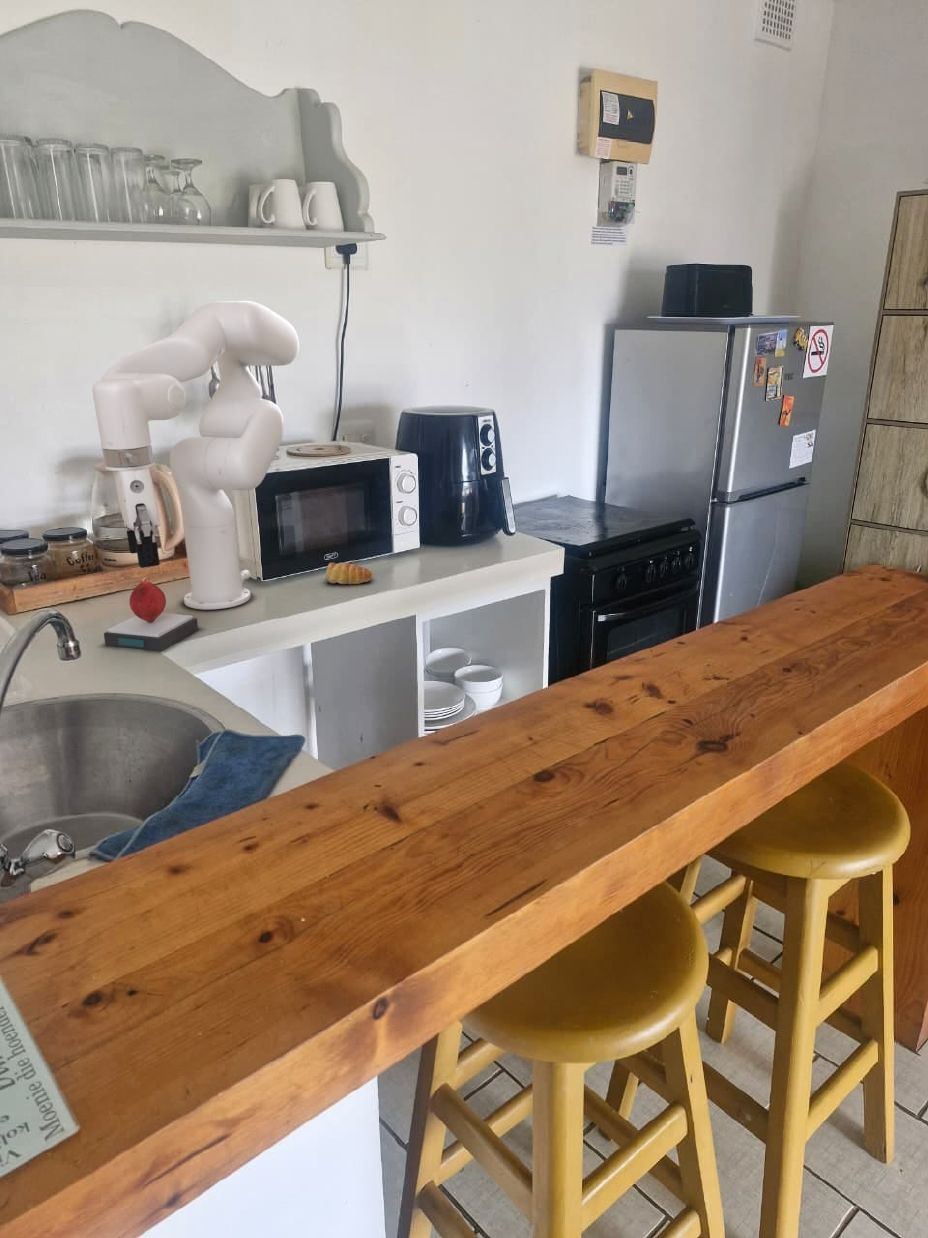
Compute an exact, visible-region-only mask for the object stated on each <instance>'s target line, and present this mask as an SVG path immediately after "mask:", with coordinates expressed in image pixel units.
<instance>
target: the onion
mask: <svg viewBox="0 0 928 1238" xmlns="http://www.w3.org/2000/svg"><path fill="white" fill-rule="evenodd" d="M166 605H167V597H166V595H165V593H164V591H163V590H162V589H161V588H160V587H159V586H157V585H156V584H154V583H152V582H151V578H150V577H147V576H145V577H143V578H142V580H141V582H140V583H139V584H138V585H136V586H135V587H134V589H133V590H132V592H131V594H130V596H129V607H130V610H131V611H132V613H133V614H134V616H137V617H139V618H140V619H142V620H145V621H147V622H153V621H155V619H156V618H157V617H158V616H159V615H160V614H161V613H164V610H165V608H166Z"/></svg>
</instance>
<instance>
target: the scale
mask: <svg viewBox="0 0 928 1238" xmlns="http://www.w3.org/2000/svg"><path fill="white" fill-rule="evenodd" d="M197 631H199V624H198V618H197V617H193V615H190V614H188V615H187V614H178V613H167V612H162V613H161V614H160V615H159V616H158V617H157V618H156V619H155V621H153V622H147V621H145V620H142V619H140V618H139V617H137V616H136V615H134V616H132V617H129V618H127V619H125V620H123V621H122V622H120V623H117V624H116V625H113V626H111V627H109V628H107V631H105V632H103V638H104V644H105V646H106V647H107V646H108V647H118V648H128V649H136V650H146V651H156V652H162V651H164V650H166V649H168V648H169V647H171V646H174V645H175V644H177V643H178V642H180V641H181V640H183V639H185V638H187V637H188V636H190V635H192V634H194V633H196V632H197Z"/></svg>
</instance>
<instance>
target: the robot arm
mask: <svg viewBox="0 0 928 1238" xmlns="http://www.w3.org/2000/svg"><path fill="white" fill-rule="evenodd" d="M299 351H300V341H299V336H298V334H297V331H296V329H295V328H294V326H293V325H292V324H291V323H290V322H289V321H288V320H287V319H285V318H284V317H283V316H281V315H279V314H277V312H274V311H273V310H271V309H270V308H268V307H267V306H265V305H263V304H261V303H258V302H255V301H251V300H223V301H222V300H218V301H216V300H215V301H209V302H205V303H203V304H202V305H199V307H197V309H195V310H194V312H192V313H191V314H190V315H189V316H188V317H187V318H186V319H185V320H184V321H183V322H182V323H181V324H180V325H179V326H178V327H177V328H176V329H175V330H174V331H173V332H172V333H171V334H170V335H168V336H166V337H163V338H161V339H158V340H155V341H153V342H151V343H150V344H147V345H145V346H143V347H141V348H138V349H136V350H134V351H131V352H129V353H127V354H126V355H124V356H122V357H121V358H120V359H119V360H117V361H116V362H115V363H114V364H113V365H112V366H111V367H110V368H109V369H108V370H107V371H106V372H105V373H104V374H103V376H102V377H101V379H100V380H98V381H96V382H95V383H94V384H93V386H92V398H93V402H94V408H95V414H96V421H97V426H98V427H97V428H98V432H99V433H98V434H99V436H100V437H99V439H100V444H101V450H102V456H103V462H104V468H105V470H106V471H111V472H113V477H114V483H115V488H116V494H117V499H118V504H119V509H120V513H121V517H122V521H123V522H124V524H125V525H126V537H127V543H128V549H129V553H130V554H131V555H133V554H136V556H137V561H138V562H137V563H138V566H139V567H140V568H141V569H144V568H150V567H156V566H160V564H161V563H160V557H159V549H158V543H157V540H156V535H155V532H154V528H153V526H154V527H155V528H157V529H158V528H159V527H160V526H161V519H160V516H159V515H160V514H159V509H158V504H157V497H156V494H155V489H154V484H153V477H152V476H151V471H150V468H151V467H154V466H155V462H154V454H153V447H152V440H151V434H150V433H151V432H150V426H149V422H150V421H167V420H171V419H174V418H177V416H179V415H180V414H181V413H183V411H184V408H185V406H186V404H187V393H186V390H185V387H184V386H183V383H185V382H188V381H191V380H194V379H197V378H198V379H199V378H200V377H202V376H204V375H206V374H207V373H208V372H209V371H210V369H212V367H214V365H215V364H216V362H217V368H218V372H219V383H218V385H217V387H216V390H215V391H214V392H213V395H212V396H211V398H210V400H209V402H208V403H207V406H206V407H205V409H204V411H203V413H202V415H201V417H200V420H199V424H198V432H199V435H200V436H191V437H186V438H183V439H181V440H179V441H178V442H176V443H175V444H174V445H173V447H172V448H171V451H170V453H169V454H170V455H169V466H170V467H169V468H170V471H171V474H172V478H173V480H174V481H173V482H174V484H175V487H176V491H177V494H178V498H179V503H180V510H181V517H182V524H183V533H184V534H183V535H184V542H185V550H186V551H185V552H186V558H187V559H186V560H187V566H188V575H189V582H190V590H191V591H189V592H188V593H187V594H185V595H184V596H183V604H184V605H185V606H186V607H188V608H190V609H195V610H204V611H205V610H206V611H207V610H209V611H210V610H223V609H228V608H234V607H237V606H240V605H243V604H245V603H247V602H249V600H250V599H251V597H252V595H251V591H250V590H249V589H248V588H246V587H243V586H244V585H243V584H244V582H245V581H246V580H248V579H250V578H251V572H250V570H248V569H243V570H241V568H240V558H239V548H238V538H237V529H236V515H235V510H234V507H233V504H232V502H231V501H230V498H229V497H228V495H227V494H226V493H225V491H251V490H255V489H256V488H257V487H259V486H260V485H261V483H262V482H263V480H264V479H265V477H266V475H267V473H268V471H269V468H270V467H271V464H272V463H273V460H274V458H275V457H276V454H277V453H278V450H279V448H280V447H281V443H282V442H283V441H282V440H283V437H284V429H285V425H284V417H283V413H282V411H281V409H280V407H279V406H278V405H277V404H276V403H274V402H273V401H271V400H268V399H265V398H262V397H263V392H262V388H261V386H260V384H259V382H258V381H257V379H256V377H254V375H253V374H252V373H251V371H250V368H249V367H256V366H257V367H260V366H261V367H262V366H263V367H265V366H266V367H268V366H269V367H276V366H277V367H279V366H281V367H283V366H287V365H290V364H292V363H293V362H294V361H295V360H296V359H297V356H298V354H299Z"/></svg>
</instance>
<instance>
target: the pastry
mask: <svg viewBox="0 0 928 1238" xmlns="http://www.w3.org/2000/svg"><path fill="white" fill-rule="evenodd" d="M372 576H373V572H372V570H370V569H369V568H366V567H363V566H360V565H357V564H352V563H350V562H339V563H335V562H329V563H328V565H327V568H326V572H325V578H324V579H325V581H327V583H330V584H336V583H338V584H341V585H346V584H347V585H348V584H349V585H359V584H362V583H368V582H369V581H370V580H371V579H372Z"/></svg>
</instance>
